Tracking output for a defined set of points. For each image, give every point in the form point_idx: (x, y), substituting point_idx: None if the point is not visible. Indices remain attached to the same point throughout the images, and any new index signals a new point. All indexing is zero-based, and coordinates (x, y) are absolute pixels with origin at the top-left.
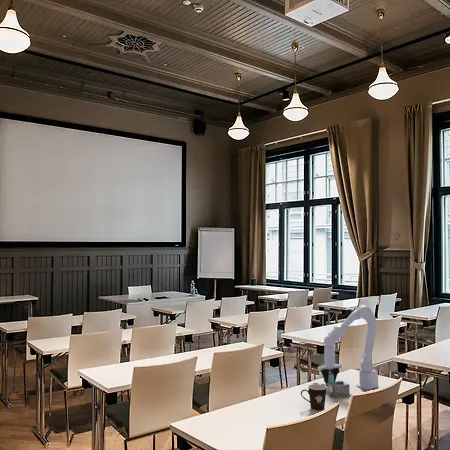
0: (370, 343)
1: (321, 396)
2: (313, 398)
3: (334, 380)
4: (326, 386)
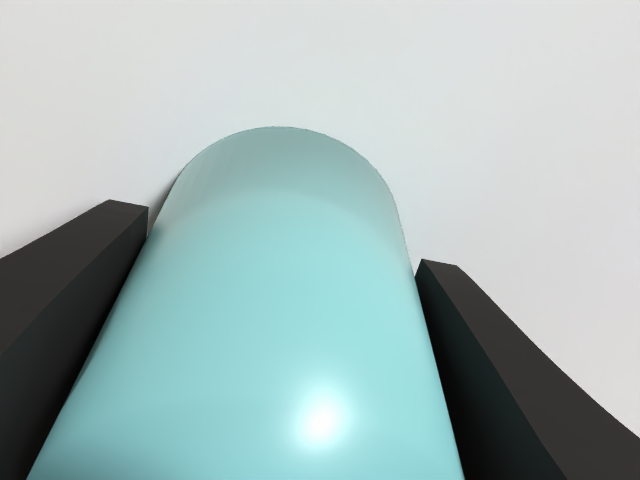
0: None
1: None
2: None
3: None
4: None
